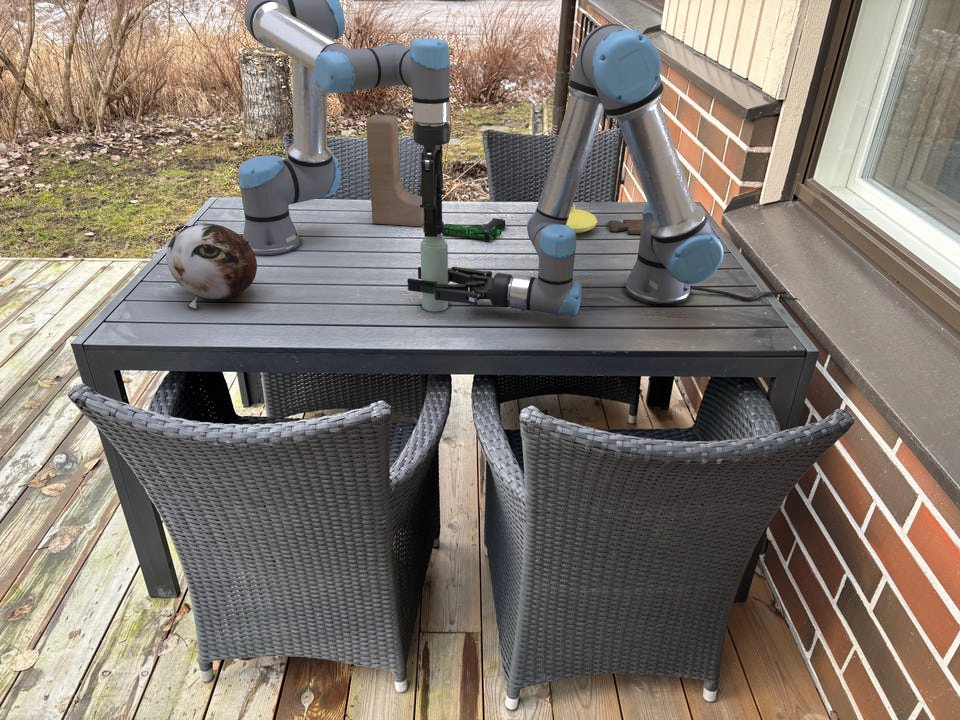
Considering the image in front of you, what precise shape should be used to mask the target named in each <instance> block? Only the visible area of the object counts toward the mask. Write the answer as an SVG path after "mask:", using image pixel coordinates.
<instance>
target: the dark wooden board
mask: <svg viewBox="0 0 960 720" xmlns="http://www.w3.org/2000/svg"><path fill="white" fill-rule="evenodd" d="M607 224H608V229H609V231H610V232H613V233H615V232H616V233H617V232H623V231H627V234H629V235H640V234H641V226H642V219H623V220H622V222H621V221H619V220H615V219H614V220H608V221H607Z"/></svg>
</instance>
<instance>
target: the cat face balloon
mask: <svg viewBox="0 0 960 720" xmlns="http://www.w3.org/2000/svg"><path fill="white" fill-rule="evenodd" d="M187 226H188V227H186V228H183V229H180V230H178V231H177V232H176V233H175V234H174V235H173V237H171V239H170V241H169V243H168V245H167V248H166V254H165V260H166V265H167V268H168V271H169V273H170V275H171V276H172V277H173V279H174V280H175V281H176V282H177V284H178V285H180V286H181V287H182V288H183V289H185V290H186V291H187V292H189V293H191V294H194V295H195V298H194V299H193V300H192V302H190V303H189V304H188V306H189V307H191V308H192V309H197V308H198V307H197V298H198V297H201V298H205V299H210V300H226V299H230V298H233V297H236V296H238V295H241V294H242V293H244V292H245V291H247V290H248V289H249V288H250V286H251V285H252V284H253V282H254V280H255V278H256V275H257V271H258V262H257V257H256V254H254V252H253V250H252V248H251V247H250V245H249V244H248V242H249V241H246V240H245V239H244V238H243V237H241V236H240V235H241V234H239V233H238V232H236V231H234V230H233V229H231V228H229V227H226V226H223V225H220V224H215V223H205V222H204V223H195V224H191V225H187Z"/></svg>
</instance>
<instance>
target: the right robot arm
mask: <svg viewBox="0 0 960 720" xmlns="http://www.w3.org/2000/svg"><path fill="white" fill-rule="evenodd" d="M661 73H662V60H661V55H660V52H659V50H658V48H657V46H656V45H655V44H654V42H653V41H652V40H651V39H650V38H649V37H648V36H647V35H645V34H644V33H642V32H640V31H638V30H636V29H630V28H628V27H626V26H623V25H622V24H618V23H605V24H601V25H599V26H596V27H595V28H593V29H592V30H591V31H589V33H588V34H587V35H586V36H585V37H584V39H583V40H582V42H581V44H580V46H579V49H578V51H577V54H576V58H575V62H574V65H573V68H572V71H571V75H570V78H569V82H568V86H567V88H568V90H569V91H570V95H569V98H568V103H567V105H566V109H565V112H564V116H563V119H562V121H561V122H562V123H561V125H560V129H559V132H558V136H557V139H556V143H555V146H554V149H553V153H552V156H551V160H550V163H549V165H548V169H547V173H546V176H545V180H544V182H543V186H542V189H541V193H540V196H539V199H538V202H537V206H536V209H535V212H534V213H533V214H531V215H530V217H529V218H528V220H527V223H526V231H527V236H528V239H529V240H530V242H531V244H532V246H533V248H534V250H535V252H536V254H537V257H538V271H537V277H535V276H529V275H520V274H515V275H514V276H513V275H512V274H511V273H505V272H503V273H502V272H497V273H495V275H494V276H493V271H492V270H480V269H479V270H478V269H471V268H466V267H459V266H452V267H450V268H448V284H437V281H435V282H432V281H425V280H421V266H418V268H417V278H407V291H408V292H416V293H421V294H422V293H429V294H434V295H435V300H441V301H448V302H449V303H450V302H451V303H461V304H468V305H472V306H478V302H479V300H489V301H490V303H491V306H493V307H498V308H505V309H507V308H509V307H510V309H512V310H513V309H514V310H519V311H521V312H525V311H529V312H534V313H535V312H536V313H543V314H549V315H555V316H557V317H558V316H564V317H574V316H577V314H578V313H579V310H580V306H581V302H582V301H581V300H582V294H583V293H582V292H583V291H582V289H583V287H582V286H583V285H582V284H581V283H579V282H577V281H574V269H575V268H574V267H575V257H576V250H577V233H575V231H574V229H572V228H570V227H568V226H566V224H567V221H568V218H569V214H570V211H571V208H572V205H574V202H575V199H576V195H577V193H578V190H579V186H580V183H581V180H582V178H583V174H584V171H585V169H586V165H587V162H588V159H589V156H590V153H591V151H592V148H593V144H594V142H595V138H596V135H597V132H598V130H599V126H600V123H601V120H602V117H603V114H604V113H605V116H606V117H608V118H611V119H613V120H616V122H617V125H618V128H619V130H620V133H621V135H622V139H623V141H624V143H625V146H626V148H627V151H628V154H629V156H630V157H629V158H630V160H631V162H632V165H633V167H634V170H635V173H636V175H637V178H638V181H639V183H640V186H641V189H642V191H643V194H644V196H645V199H646V203H644V208H643V212H642V213H641V215H642V219H641V220H642V226H641V234H639V243H638V249H637V258H636V260H635V263H634V265H633V267H632V268H631V271H630V273H629V275H628V277H627V279H626V281H625V282H626V283H625V292H626V294H627V295H628V296H629V297H631V298H632V299H633V300H636V301H638V302H641V303H643V304H648V305H654V306H676V305H680V304H682V303H684V302H685V303H686V301H687V300H688V299H689V298H690V296H691V295H690V293H691V290H693V291H694V290H695V291H700V292H707V293H711V294H712V293H713V294H717V295H724V296H728V297H729V296H730V297H731V298H734V299H735V298H736V299H738V300H743V301H755V300H758V299H759V298H761V297H763V296H773V295H787V296H789V295H788V294H786V291H787V290H773V291H762V292H759V293H758V294H757V295H754V296H745V295H739V294H736V293H732V292H728V291H723V290H719V289H712V288H706V287H700V286H694V285H692V284H699V283H702V282H704V281H706V280H707V279H709V278H711V277H712V276H713V275H714V274H715V273H716V272H717V271H718V269H719V268H720V265H722V263H723V260H724V253H725V251H724V247H723V245H722V243H721V241H720V239H719V238H718V237H717V236H715V235H714V233H713V231H712V228H711V225H710V221H709V219H708V216H707V214H706V210H705V209H704V208H703V207H702V206H700V205H697V203H696V202H695V201H694V199H693V196H692V193H691V190H690V187H689V184H688V182H687V178H686V176H685V172H684V169H683V167H682V164H681V161H680V158H679V155H678V151H677V149H676V146H675V143H674V140H673V137H672V134H671V131H670V129H669V126H668V123H667V120H666V117H665V114H664V111H663V108H662V105H661V102H660V100H661V97H662V96H663V93H664V91H665V87H664V84H663V82H662V78H661Z"/></svg>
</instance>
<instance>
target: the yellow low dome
mask: <svg viewBox="0 0 960 720" xmlns="http://www.w3.org/2000/svg"><path fill="white" fill-rule="evenodd" d="M597 223H598V219H597V217H596V215H595V214H593V213H591V212H589V211H587V210H584V209H578V208H576V205H575V204H573V205H572V208H571V211H570V214H569V218H568V221H567V224H566V226H568V227H570V228H572V229H574V231H575V233H576V234H580V233H584V232H585V233H586V232H587V231H591V230H592V229H594V228H596V226H597Z"/></svg>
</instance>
